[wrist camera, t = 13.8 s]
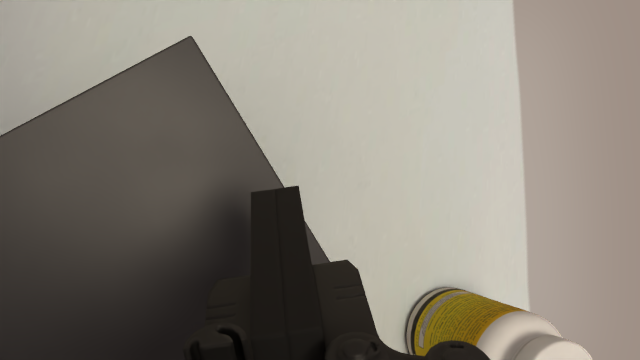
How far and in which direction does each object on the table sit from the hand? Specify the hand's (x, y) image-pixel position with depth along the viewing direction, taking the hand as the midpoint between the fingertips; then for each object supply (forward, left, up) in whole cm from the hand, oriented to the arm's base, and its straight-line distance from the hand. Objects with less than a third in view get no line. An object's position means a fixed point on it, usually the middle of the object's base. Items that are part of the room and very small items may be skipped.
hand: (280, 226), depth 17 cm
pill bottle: (+12, +13, -16) cm, 24 cm away
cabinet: (0, -5, -16) cm, 17 cm away
